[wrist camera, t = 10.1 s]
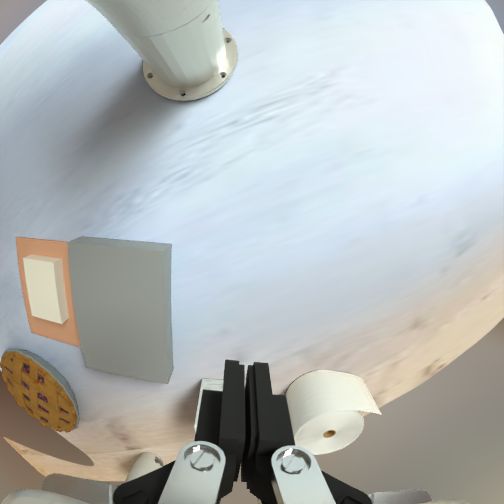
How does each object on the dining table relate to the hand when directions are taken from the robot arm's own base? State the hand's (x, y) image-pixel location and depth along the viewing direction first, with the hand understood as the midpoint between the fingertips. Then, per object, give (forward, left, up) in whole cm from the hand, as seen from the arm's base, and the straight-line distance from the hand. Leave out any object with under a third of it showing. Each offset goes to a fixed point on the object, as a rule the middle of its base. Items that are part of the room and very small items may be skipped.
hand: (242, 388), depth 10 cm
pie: (+34, -41, -27) cm, 60 cm away
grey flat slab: (+11, -16, -27) cm, 33 cm away
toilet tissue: (+24, +15, -27) cm, 39 cm away
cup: (+50, -17, -27) cm, 59 cm away
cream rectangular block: (+9, -31, -25) cm, 41 cm away
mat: (+11, -31, -27) cm, 42 cm away
